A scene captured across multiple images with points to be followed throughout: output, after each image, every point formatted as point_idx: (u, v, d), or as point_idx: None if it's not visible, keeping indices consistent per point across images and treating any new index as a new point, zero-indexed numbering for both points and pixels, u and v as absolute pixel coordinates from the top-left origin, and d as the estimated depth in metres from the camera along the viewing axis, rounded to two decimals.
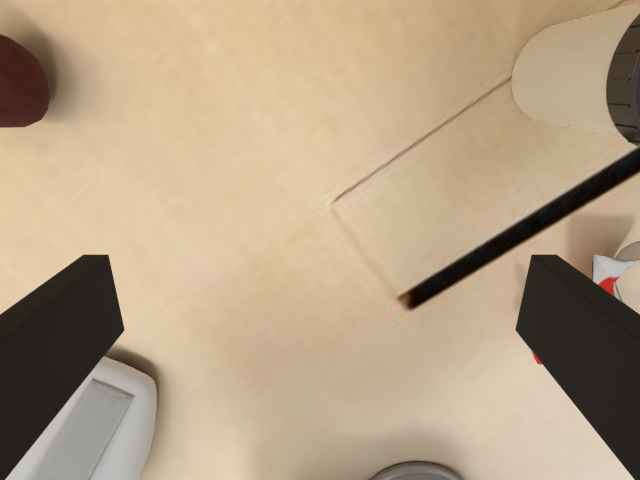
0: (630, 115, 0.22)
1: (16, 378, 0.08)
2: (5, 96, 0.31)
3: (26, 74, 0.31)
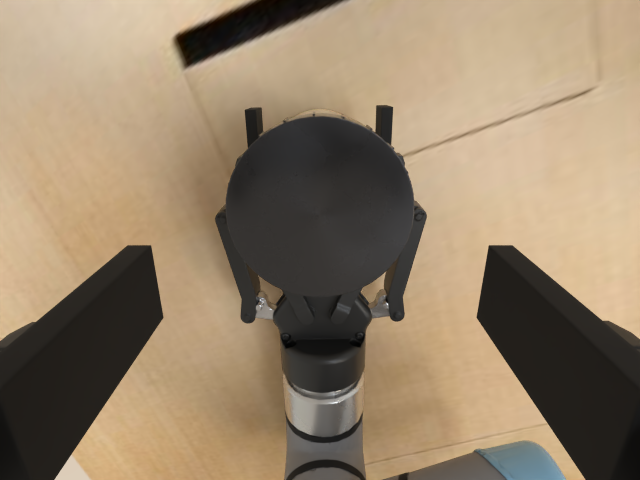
0: None
1: (83, 356, 0.09)
2: None
3: None
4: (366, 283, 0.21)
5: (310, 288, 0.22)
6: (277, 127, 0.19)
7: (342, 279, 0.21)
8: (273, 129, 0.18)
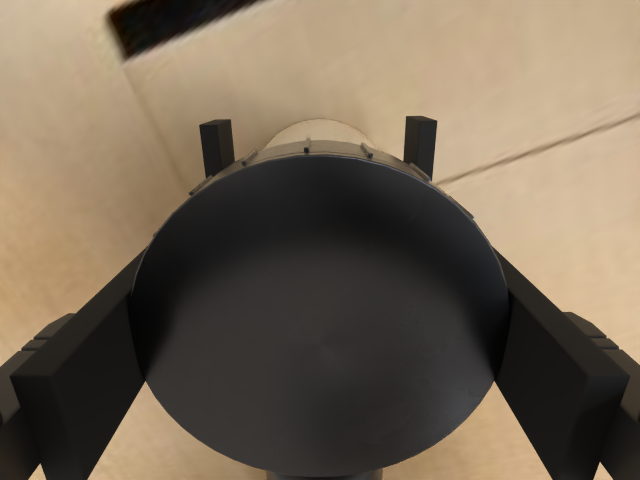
0: None
1: (120, 345, 0.09)
2: None
3: None
4: (406, 456, 0.11)
5: (302, 464, 0.12)
6: (227, 178, 0.08)
7: (362, 450, 0.11)
8: (218, 182, 0.08)
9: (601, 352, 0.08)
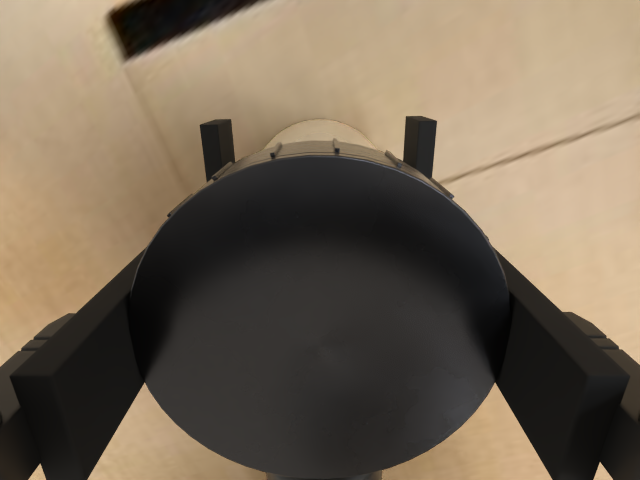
0: (249, 163, 0.09)
1: (120, 345, 0.09)
2: None
3: None
4: (483, 241, 0.09)
5: (487, 351, 0.10)
6: (171, 415, 0.11)
7: (469, 293, 0.09)
8: (175, 421, 0.11)
9: (602, 352, 0.08)
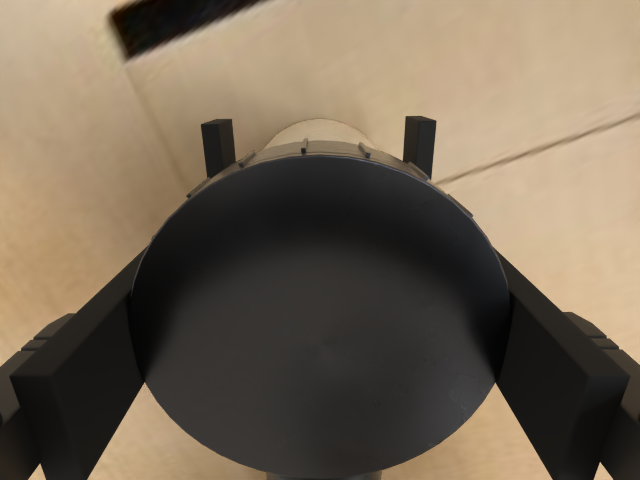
0: None
1: (120, 345, 0.09)
2: None
3: None
4: (178, 215, 0.09)
5: (311, 179, 0.08)
6: (411, 456, 0.11)
7: (238, 216, 0.09)
8: (418, 455, 0.11)
9: (601, 352, 0.08)
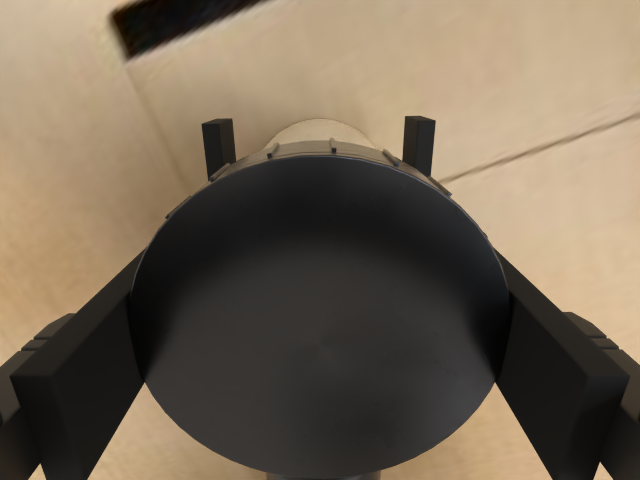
0: None
1: (120, 345, 0.09)
2: None
3: None
4: (207, 445, 0.11)
5: (155, 362, 0.10)
6: (481, 235, 0.09)
7: (199, 409, 0.11)
8: (478, 229, 0.09)
9: (602, 352, 0.08)
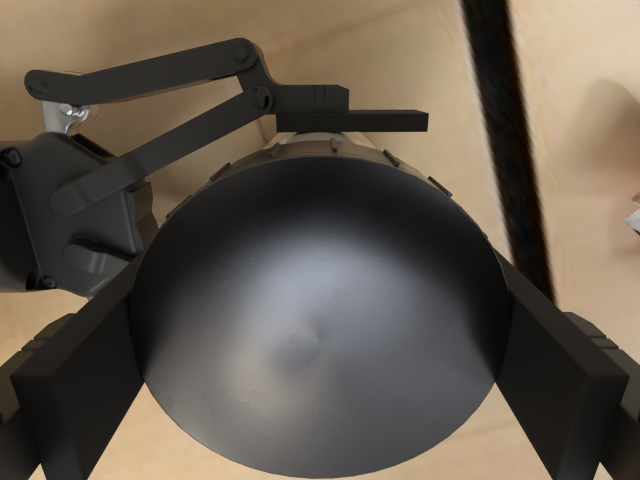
0: None
1: (120, 345, 0.09)
2: None
3: None
4: (207, 444, 0.11)
5: (155, 362, 0.10)
6: (482, 235, 0.09)
7: (199, 409, 0.11)
8: (478, 229, 0.09)
9: (602, 352, 0.08)
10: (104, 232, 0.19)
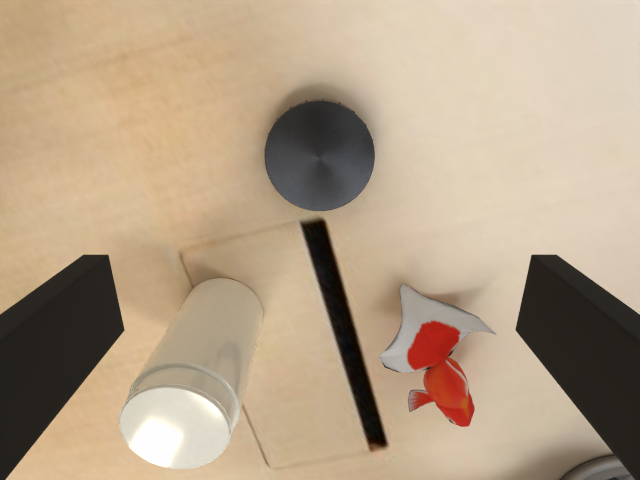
0: None
1: (16, 378, 0.08)
2: None
3: None
4: (284, 196, 0.36)
5: (271, 164, 0.35)
6: (362, 122, 0.33)
7: (283, 182, 0.35)
8: (361, 121, 0.33)
9: None
10: None
